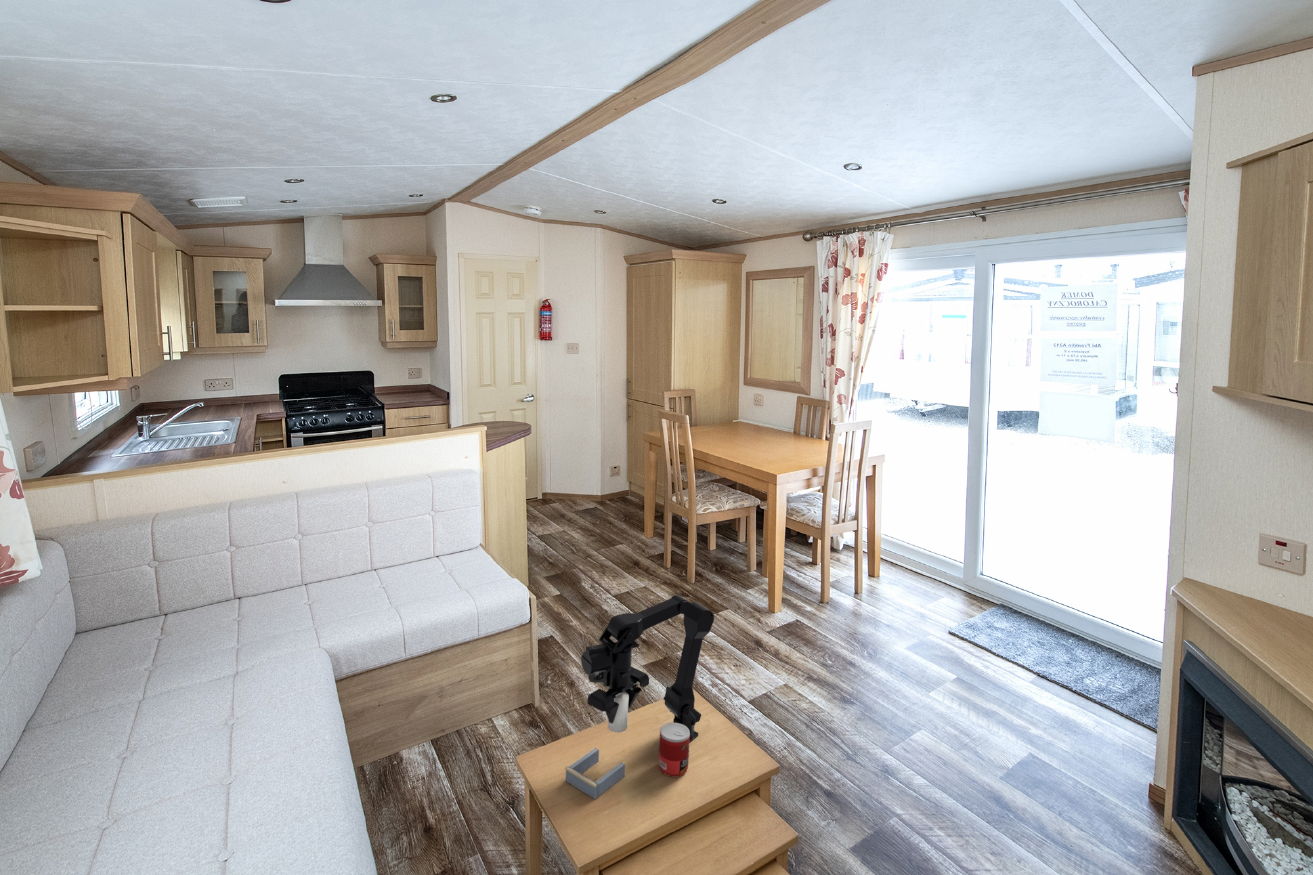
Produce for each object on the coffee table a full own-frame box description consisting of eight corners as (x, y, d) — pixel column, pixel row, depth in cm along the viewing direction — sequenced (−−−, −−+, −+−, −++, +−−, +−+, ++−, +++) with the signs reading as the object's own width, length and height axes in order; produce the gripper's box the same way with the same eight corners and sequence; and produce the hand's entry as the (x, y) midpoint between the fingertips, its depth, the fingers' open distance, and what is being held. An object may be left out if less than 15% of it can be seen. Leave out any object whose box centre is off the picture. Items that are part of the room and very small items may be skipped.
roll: (616, 718, 185) (618, 687, 183) (631, 726, 182) (632, 695, 180) (603, 726, 181) (605, 695, 179) (618, 734, 178) (619, 703, 176)
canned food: (685, 779, 177) (687, 742, 175) (655, 774, 179) (657, 737, 177) (690, 761, 185) (691, 724, 182) (661, 756, 186) (662, 720, 184)
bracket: (595, 759, 184) (595, 745, 183) (624, 776, 178) (624, 762, 177) (564, 781, 175) (565, 767, 174) (594, 799, 169) (594, 785, 168)
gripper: (620, 641, 190) (618, 692, 193) (573, 666, 176) (571, 721, 179) (651, 655, 184) (648, 707, 186) (604, 682, 169) (602, 738, 172)
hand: (618, 718), depth 181 cm, fingers closed on roll, 5 cm apart
